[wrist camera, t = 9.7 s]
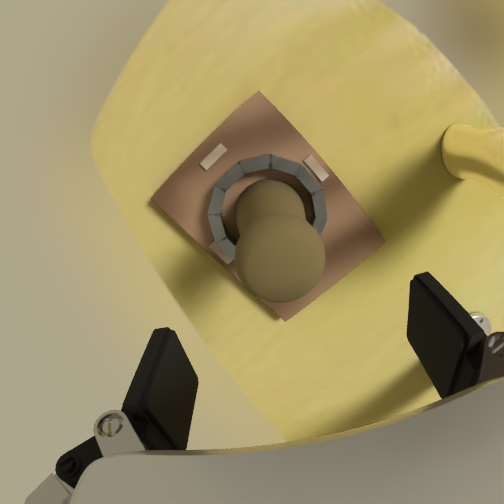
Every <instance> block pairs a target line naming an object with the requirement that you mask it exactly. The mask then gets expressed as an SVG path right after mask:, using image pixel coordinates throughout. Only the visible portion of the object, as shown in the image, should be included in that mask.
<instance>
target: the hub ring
mask: <svg viewBox="0 0 504 504" xmlns="http://www.w3.org/2000/svg"><path fill="white" fill-rule="evenodd" d="M268 168H273V169H276V170H279V171H282V172H286V173H289V174H292V175H295V176H296V177H297V178H298V179H299V181H300V182H301V183H302V184H303V185H304V186H305V187H306V188H307V190H308V192H309V197H310V203H311V208H312V215H311V217H310V220H309V224H310V225H311V226H312V227H313V228H314V229H315V230H316V231H317V232H318V234H319V236H320V237H321V234H322V232H323V229H324V227H325V224H326V222H327V217H328V216H327V210H326V204H325V198H324V192H323V189H322V187H321V186H320V185H319V183H318V182H317V181H316V180H315V179H314V178H313V176H312V175H311V174H310V173H309V172H308V171H307V170H306V168H305V167H304V166H303V165H301V164H300V163H299V162H296V161H293V160H290V159H287V158H283V157H280V156H277V155H274V154H271V155H270V154H264V155H260V156H255V157H251V158H247V159H243V160H240V162H239V161H238V162H237V163H236V164H235V165H234V166H233V167H232V168H231V169H229V170H228V171H227V172H226V173H225V174H224V175H223V176H222V177H221V178H220V179H219V180H218V181H217V183H216V185H215V187H214V191H213V194H212V198H211V202H210V206H209V209H208V213H207V214H208V219H209V223H210V226H211V229H212V233H213V236H214V239H215V242H217V245H218V246H219V247H220V248H221V249H222V250H224V251H225V252H226V253H227V254H228V255H229V256H230V257H231V258H232V259H233V260H234V259H235V249H236V244H237V242H238V241H237V240H236V239H235V238H234V237H233V236H232V235H231V234H230V233H229V232H228V231H227V228H226V224H225V221H224V217H223V214H222V206H223V202H224V199H225V195H226V192H227V190H228V189H229V188H230V187H231V186H232V185H233V184H234V183H236V182H237V181H238V180H239V179H240V178H241V177H242V176H243V175H244V174H246V173H250V172H254V171H259V170H263V169H268Z"/></svg>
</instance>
